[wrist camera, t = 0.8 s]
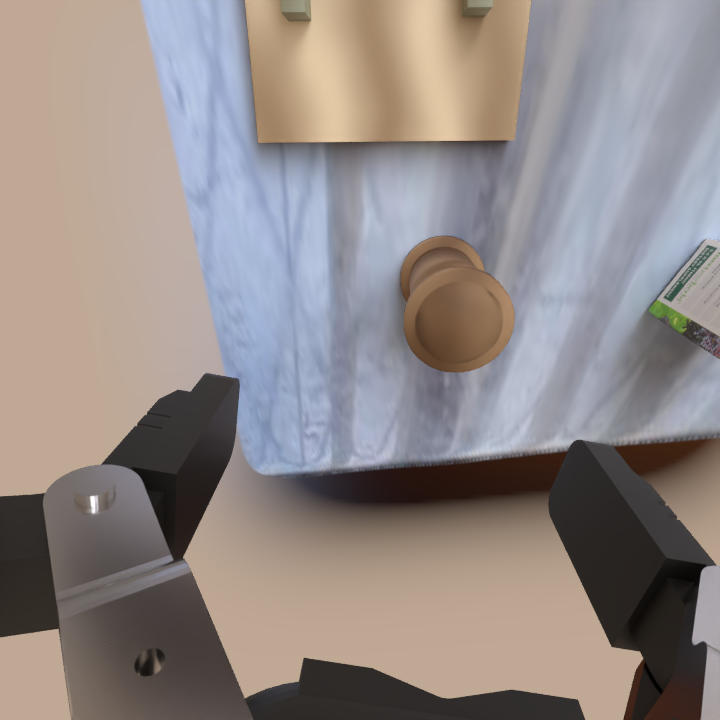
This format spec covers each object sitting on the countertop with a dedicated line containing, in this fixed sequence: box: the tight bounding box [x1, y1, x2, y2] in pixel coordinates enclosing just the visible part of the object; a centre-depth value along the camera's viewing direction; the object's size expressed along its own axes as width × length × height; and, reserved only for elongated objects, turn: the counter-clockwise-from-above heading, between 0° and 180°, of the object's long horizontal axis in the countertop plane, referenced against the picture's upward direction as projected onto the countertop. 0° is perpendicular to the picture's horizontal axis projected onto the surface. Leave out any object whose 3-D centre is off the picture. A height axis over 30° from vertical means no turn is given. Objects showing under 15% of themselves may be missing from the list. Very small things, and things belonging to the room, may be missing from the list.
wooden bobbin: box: [401, 236, 515, 372], centre depth 28 cm, size 6×6×9 cm
